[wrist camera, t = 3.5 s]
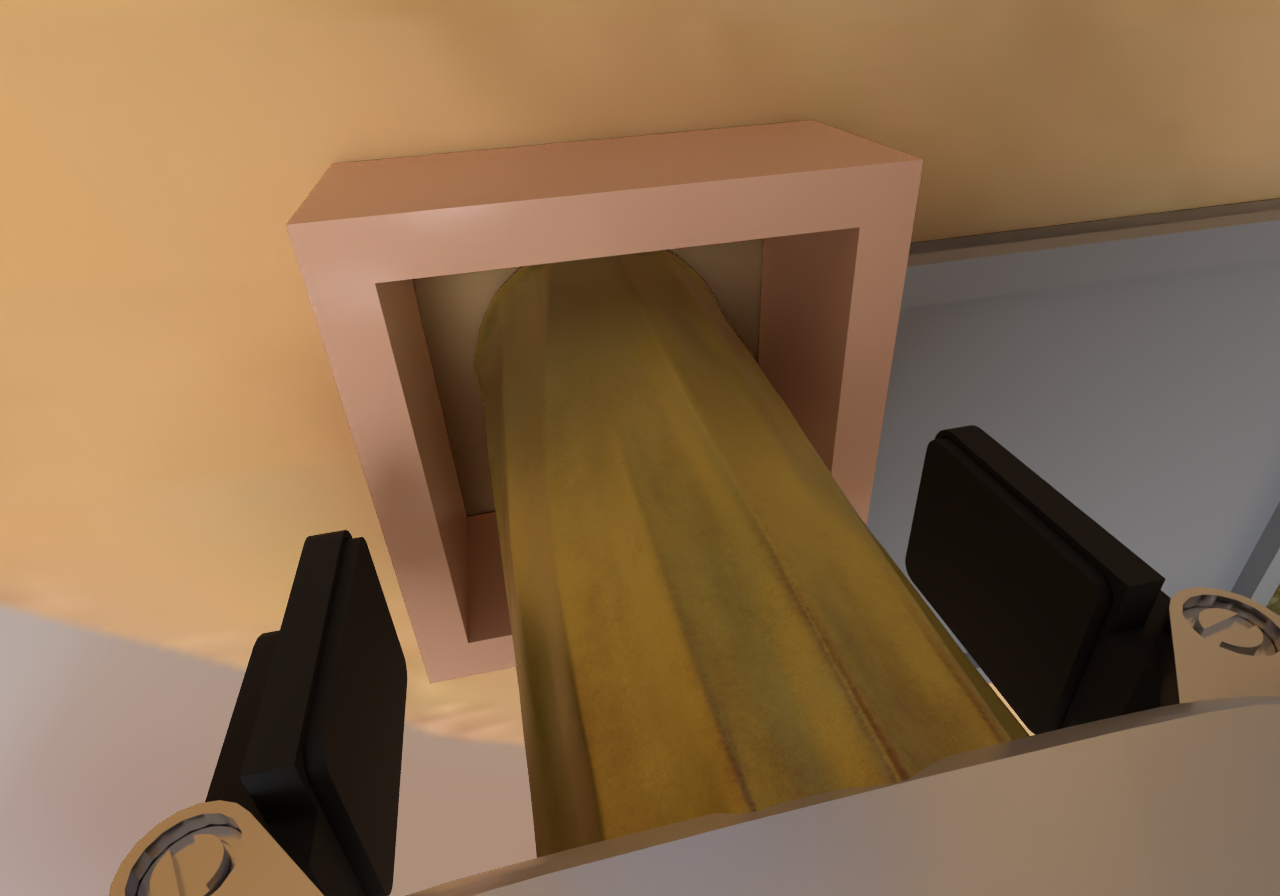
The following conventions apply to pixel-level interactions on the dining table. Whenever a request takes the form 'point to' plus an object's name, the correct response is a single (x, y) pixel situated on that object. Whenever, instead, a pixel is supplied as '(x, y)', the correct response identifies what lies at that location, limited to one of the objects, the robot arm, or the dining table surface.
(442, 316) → the dining table surface
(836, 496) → the vase
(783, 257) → the pink square frame
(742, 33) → the dining table surface
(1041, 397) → the tray
